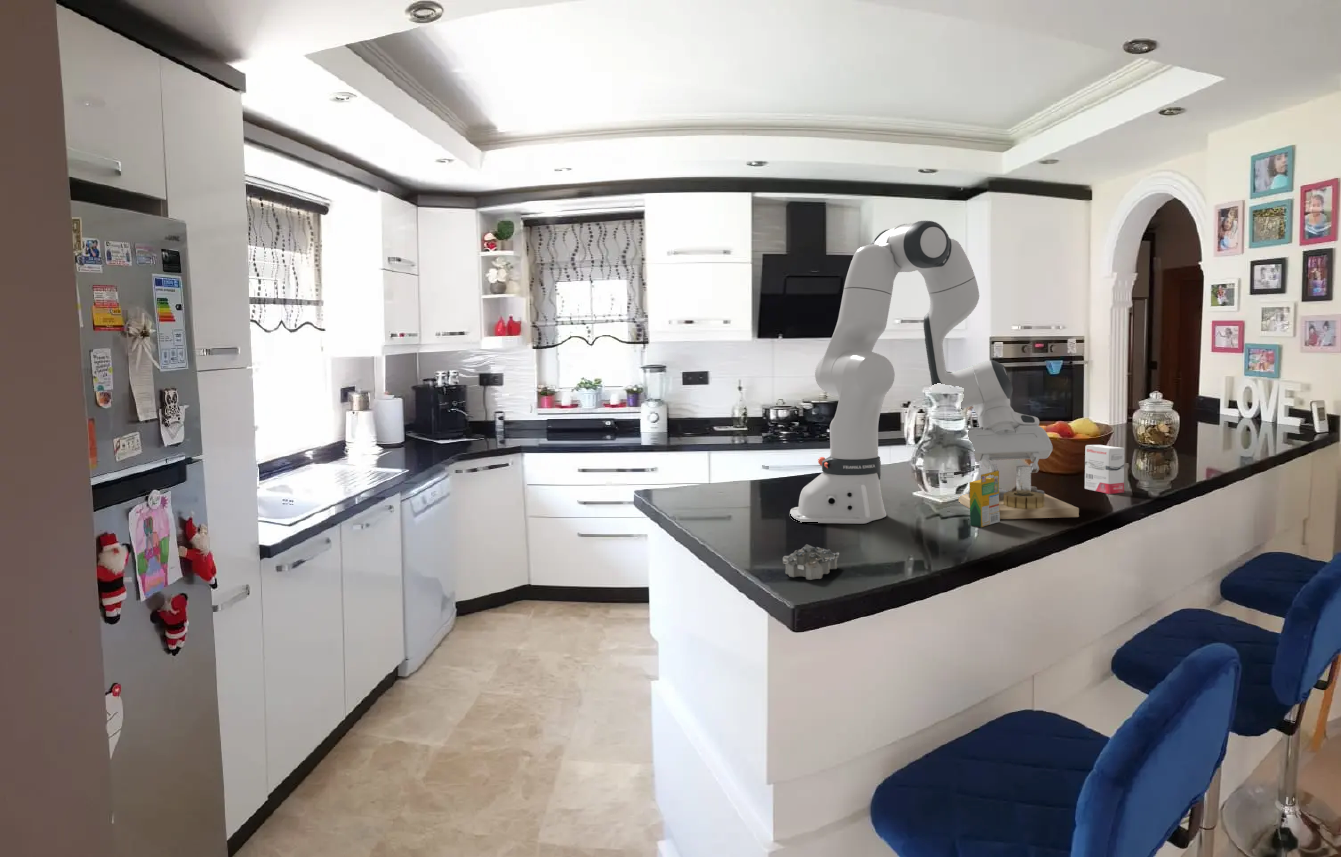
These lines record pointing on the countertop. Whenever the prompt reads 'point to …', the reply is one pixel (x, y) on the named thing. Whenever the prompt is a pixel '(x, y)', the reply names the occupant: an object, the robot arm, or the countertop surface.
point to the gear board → (1033, 513)
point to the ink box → (1104, 469)
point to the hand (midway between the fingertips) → (1014, 471)
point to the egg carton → (810, 562)
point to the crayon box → (984, 500)
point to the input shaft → (1023, 480)
